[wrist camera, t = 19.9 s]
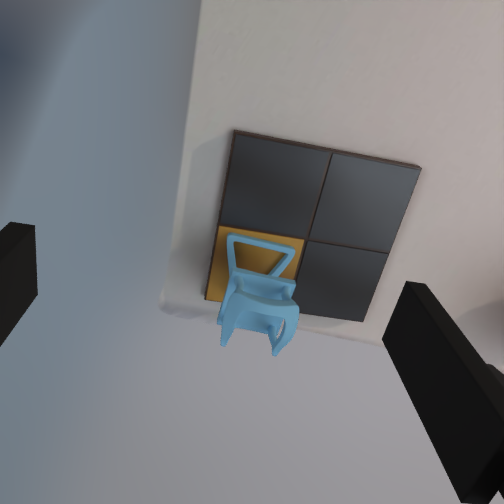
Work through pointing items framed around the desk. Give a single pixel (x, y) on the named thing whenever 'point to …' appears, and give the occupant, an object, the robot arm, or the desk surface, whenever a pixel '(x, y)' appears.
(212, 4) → the desk surface
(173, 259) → the desk surface
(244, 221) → the board
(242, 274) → the chair
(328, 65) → the desk surface
